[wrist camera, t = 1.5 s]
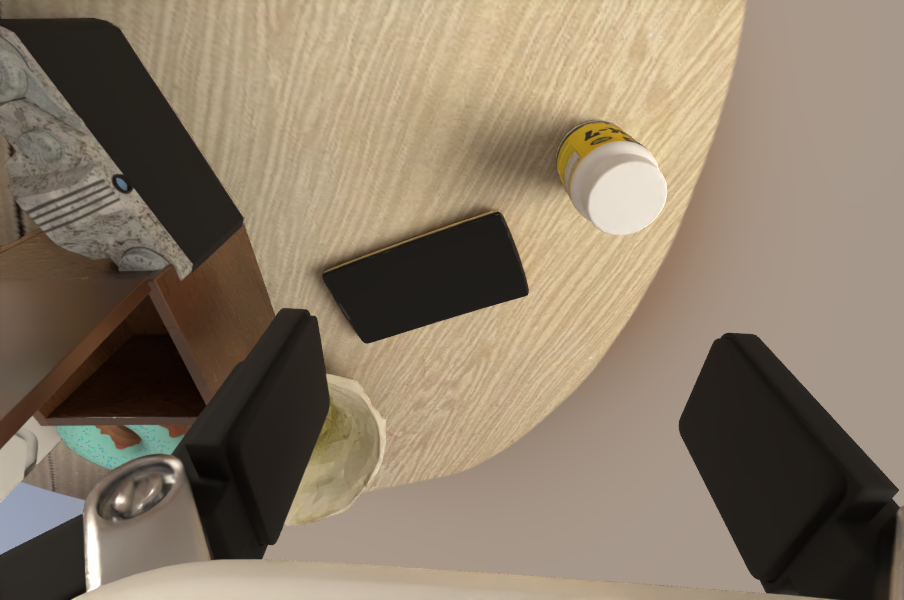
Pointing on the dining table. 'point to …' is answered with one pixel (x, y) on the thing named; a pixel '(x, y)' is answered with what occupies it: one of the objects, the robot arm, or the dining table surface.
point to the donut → (121, 441)
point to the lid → (53, 337)
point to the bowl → (340, 454)
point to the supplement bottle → (610, 177)
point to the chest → (153, 334)
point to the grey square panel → (24, 453)
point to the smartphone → (429, 278)
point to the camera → (105, 150)
